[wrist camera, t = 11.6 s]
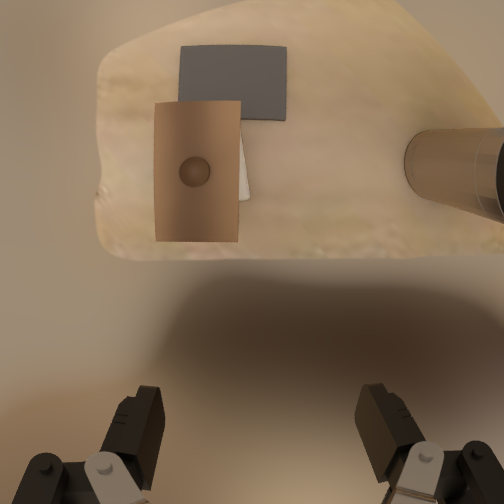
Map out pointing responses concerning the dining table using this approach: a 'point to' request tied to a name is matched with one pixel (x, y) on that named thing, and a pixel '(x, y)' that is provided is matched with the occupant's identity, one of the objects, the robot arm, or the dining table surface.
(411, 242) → the dining table surface
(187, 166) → the lid
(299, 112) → the dining table surface
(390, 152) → the dining table surface
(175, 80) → the dining table surface
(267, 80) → the mat
